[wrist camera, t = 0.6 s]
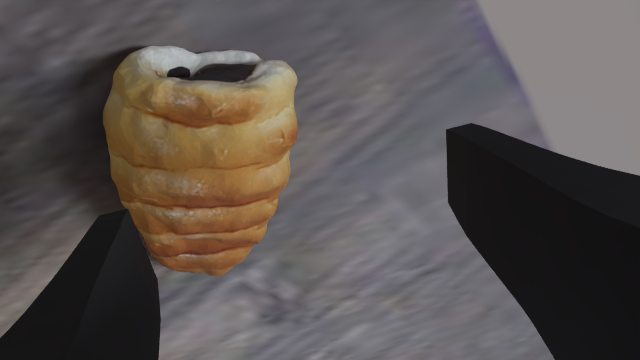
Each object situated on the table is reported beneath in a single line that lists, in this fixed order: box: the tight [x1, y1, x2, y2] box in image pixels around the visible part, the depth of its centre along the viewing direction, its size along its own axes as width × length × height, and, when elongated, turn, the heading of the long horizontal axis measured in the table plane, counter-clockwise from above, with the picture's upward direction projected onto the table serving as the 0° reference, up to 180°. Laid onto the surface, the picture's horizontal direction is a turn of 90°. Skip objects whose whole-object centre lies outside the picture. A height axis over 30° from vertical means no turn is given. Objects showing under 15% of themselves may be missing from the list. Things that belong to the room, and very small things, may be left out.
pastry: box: [103, 46, 298, 276], centre depth 21 cm, size 9×7×4 cm
